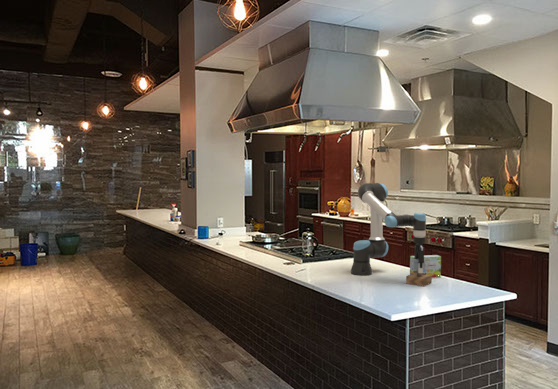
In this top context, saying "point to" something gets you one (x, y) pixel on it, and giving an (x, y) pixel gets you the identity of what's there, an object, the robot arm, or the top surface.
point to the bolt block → (418, 279)
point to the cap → (415, 264)
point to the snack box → (429, 265)
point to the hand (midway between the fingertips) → (418, 271)
